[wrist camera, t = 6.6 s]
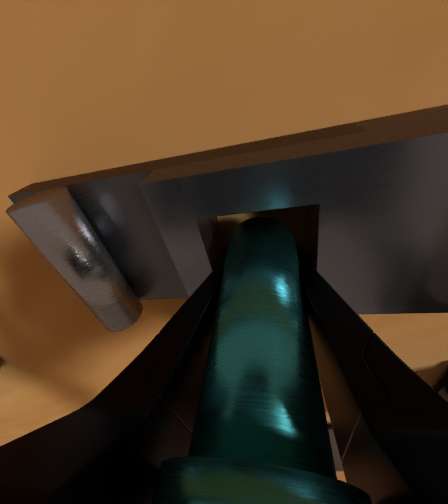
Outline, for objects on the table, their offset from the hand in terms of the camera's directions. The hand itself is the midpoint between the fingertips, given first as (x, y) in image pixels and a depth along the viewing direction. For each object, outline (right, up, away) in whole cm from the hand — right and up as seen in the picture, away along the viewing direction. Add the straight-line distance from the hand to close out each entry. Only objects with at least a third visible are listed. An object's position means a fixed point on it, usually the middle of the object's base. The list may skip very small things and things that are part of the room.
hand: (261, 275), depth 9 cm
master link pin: (0, +1, +2) cm, 2 cm away
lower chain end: (-3, +2, +4) cm, 6 cm away
